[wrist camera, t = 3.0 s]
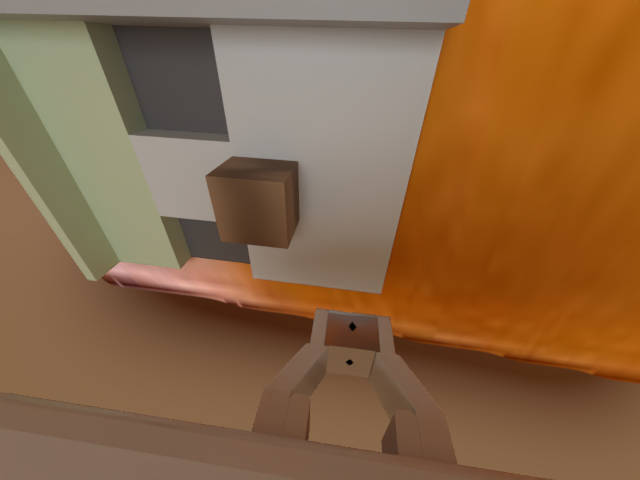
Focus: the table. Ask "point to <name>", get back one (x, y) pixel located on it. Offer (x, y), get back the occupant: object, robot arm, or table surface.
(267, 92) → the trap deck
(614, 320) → the table surface
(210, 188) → the walnut block
